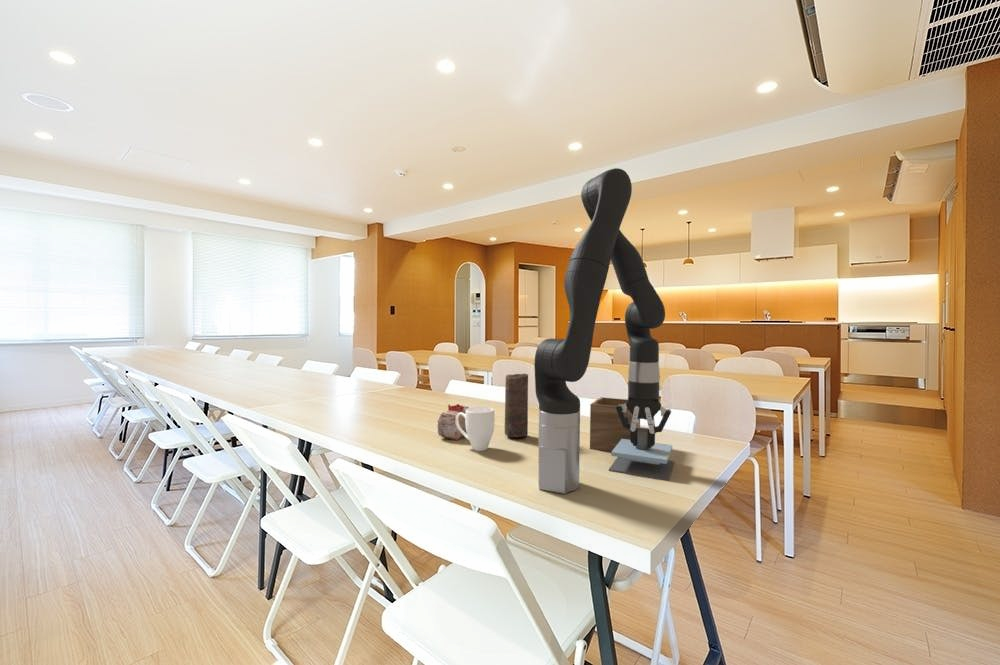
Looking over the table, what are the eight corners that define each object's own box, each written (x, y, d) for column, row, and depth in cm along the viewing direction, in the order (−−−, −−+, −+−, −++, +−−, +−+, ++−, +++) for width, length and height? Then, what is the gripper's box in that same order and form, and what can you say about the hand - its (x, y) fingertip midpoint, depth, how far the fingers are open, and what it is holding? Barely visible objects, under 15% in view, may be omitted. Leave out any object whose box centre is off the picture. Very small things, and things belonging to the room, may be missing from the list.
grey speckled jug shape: (460, 442, 133) (460, 409, 133) (435, 440, 135) (435, 408, 135) (473, 430, 146) (473, 401, 146) (451, 428, 148) (451, 400, 148)
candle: (528, 440, 135) (528, 375, 134) (504, 440, 135) (504, 375, 134) (527, 433, 142) (527, 372, 141) (504, 433, 142) (504, 372, 141)
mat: (668, 480, 102) (668, 478, 102) (608, 470, 109) (608, 469, 109) (674, 462, 115) (674, 461, 115) (620, 454, 121) (620, 453, 121)
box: (632, 454, 121) (633, 408, 121) (589, 448, 127) (590, 404, 126) (639, 443, 132) (640, 400, 131) (600, 438, 137) (600, 397, 137)
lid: (666, 468, 103) (667, 438, 103) (611, 460, 109) (611, 432, 109) (672, 452, 115) (672, 426, 115) (621, 446, 121) (622, 420, 120)
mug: (498, 446, 128) (498, 408, 128) (487, 454, 121) (487, 413, 120) (462, 441, 133) (462, 404, 133) (449, 449, 125) (448, 410, 125)
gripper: (612, 379, 111) (611, 446, 112) (671, 383, 105) (670, 454, 105) (618, 375, 118) (617, 439, 118) (674, 379, 111) (673, 446, 112)
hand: (642, 445), depth 112 cm, fingers closed on lid, 3 cm apart
